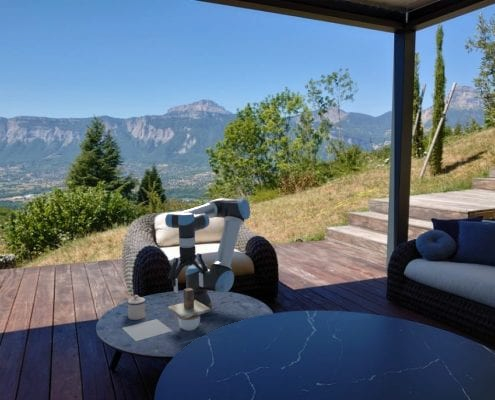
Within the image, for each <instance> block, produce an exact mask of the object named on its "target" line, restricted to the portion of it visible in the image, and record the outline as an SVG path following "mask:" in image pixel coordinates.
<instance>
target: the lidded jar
mask: <svg viewBox="0 0 495 400" xmlns="http://www.w3.org/2000/svg"><path fill="white" fill-rule="evenodd" d="M177 320H178V325H179V327H180V329H182V330H184V331H189V332H190V331H194V330H195V329H197V328H198V327H199V326H200V321H201V314H199V315H195V316H191V317H188V318H184V319H182V318H180V317H179V316H177Z"/></svg>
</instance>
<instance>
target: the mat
mask: <svg viewBox="0 0 495 400" xmlns="http://www.w3.org/2000/svg"><path fill="white" fill-rule="evenodd" d="M121 328H122V330H123V331H124V332H125V333H126V334H128V336H129V337H131V339H133V340H134V341H135V342H138V341H142V340H145V339H149V338H153V337H156V336H159V335H163V334H166V333H169V332H172V331H173V330H172V329H171V328H170V327H168V326H166V325H165V324H164V323H163V322H162V321H161V320H159V319H157V318H155V319H153V320H152V319H151V320H148V321H144V322H140V323H136V324H134V325H133V324H132V325H129V326H124V327H121Z"/></svg>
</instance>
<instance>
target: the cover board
mask: <svg viewBox="0 0 495 400" xmlns="http://www.w3.org/2000/svg"><path fill="white" fill-rule="evenodd" d="M167 309H168V310H169V311H170V312H171V313H173V314H175V315H176V316H177V317H178V316H179V317H180V318H182V319H184V318H188V317H191V316H195V315H199V314H200V315H201V314H205V313H209V312H211V311H212V310H211V307H210V308H209V307H207V306H205V305H203V304H202V303H200V302H198V301H196V300H194V290H193V289H191V288H187V289H186V288H184V289H183V302H181V303H177V304H174V305H169V306H167Z"/></svg>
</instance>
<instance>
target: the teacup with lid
mask: <svg viewBox="0 0 495 400" xmlns="http://www.w3.org/2000/svg"><path fill="white" fill-rule="evenodd" d="M126 303H127V305H126V306H127V313H128V315H127V317H128V319H129V320H133V321H134V320H136V321H137V320H142V319H144V318H146V314H147V313H146V298H144V297H141V296H139V295H138V294H134V297H132V298H129V299H128V300H127V302H126Z"/></svg>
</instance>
